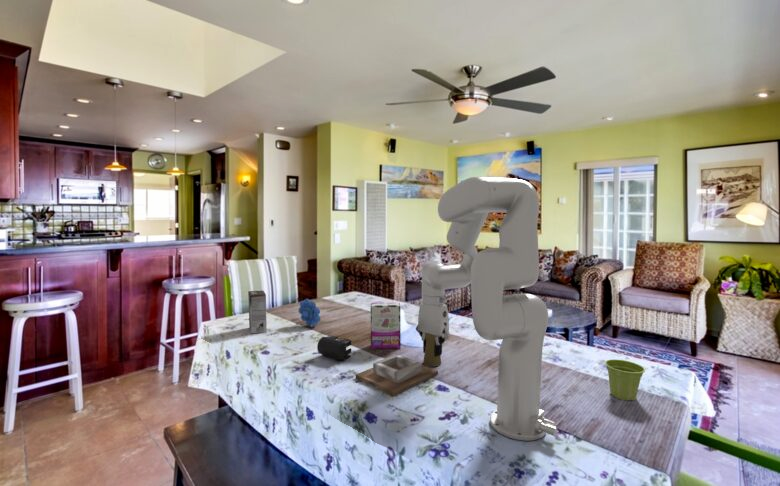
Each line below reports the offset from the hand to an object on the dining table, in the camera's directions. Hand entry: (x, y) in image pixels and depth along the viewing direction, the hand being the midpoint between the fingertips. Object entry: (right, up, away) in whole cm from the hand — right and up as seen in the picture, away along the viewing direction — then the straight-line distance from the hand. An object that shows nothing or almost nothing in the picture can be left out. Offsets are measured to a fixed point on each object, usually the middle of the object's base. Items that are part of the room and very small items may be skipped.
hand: (432, 353), depth 128 cm
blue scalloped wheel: (-50, 0, +41) cm, 65 cm away
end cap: (-33, -3, +5) cm, 34 cm away
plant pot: (+50, -6, -22) cm, 55 cm away
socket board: (-12, -4, -10) cm, 16 cm away
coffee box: (-71, 0, +35) cm, 79 cm away
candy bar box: (-16, -2, +16) cm, 23 cm away
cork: (0, -3, 0) cm, 3 cm away
